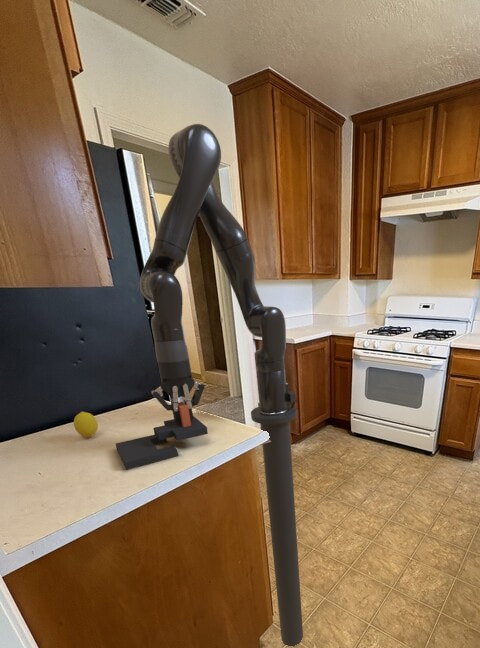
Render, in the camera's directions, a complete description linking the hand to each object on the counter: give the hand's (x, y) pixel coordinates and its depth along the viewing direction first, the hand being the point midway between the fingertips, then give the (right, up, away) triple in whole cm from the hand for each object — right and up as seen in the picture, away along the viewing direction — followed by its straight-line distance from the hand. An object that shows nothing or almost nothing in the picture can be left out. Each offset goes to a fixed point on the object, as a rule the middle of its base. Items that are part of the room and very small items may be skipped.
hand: (184, 421), depth 95 cm
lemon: (-30, -4, +7) cm, 32 cm away
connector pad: (-1, -3, 0) cm, 3 cm away
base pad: (-8, -8, -3) cm, 12 cm away
